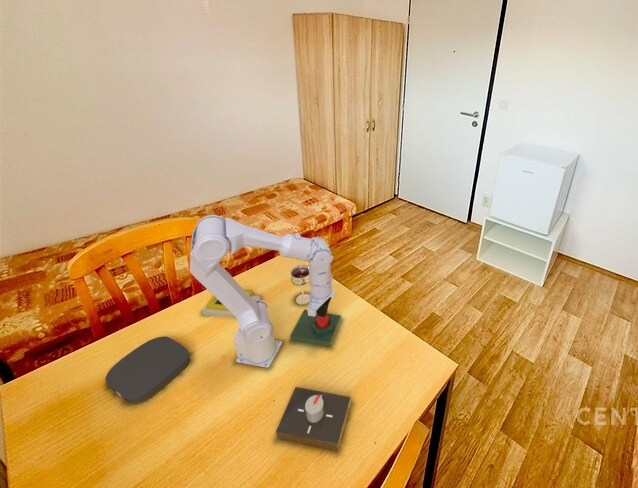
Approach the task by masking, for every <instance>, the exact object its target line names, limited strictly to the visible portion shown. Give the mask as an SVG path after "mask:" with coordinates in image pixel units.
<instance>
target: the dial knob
mask: <svg viewBox="0 0 638 488" xmlns="http://www.w3.org/2000/svg"><path fill="white" fill-rule="evenodd" d="M305 410H306V418H307V420H308V421H309V422H312V423H315V422H318V421H319V420H320V419H321V418H322V417H323V414H324V404H323V399H322V398H321V397H320V395H314V396H311V397H310V398H309V399H308V400H307V401H306V404H305Z"/></svg>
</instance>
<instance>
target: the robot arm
mask: <svg viewBox="0 0 638 488" xmlns="http://www.w3.org/2000/svg"><path fill="white" fill-rule="evenodd" d="M244 247H251V248H257V249H264V250H271V251H277V252H278V253H279V255H280V256H281V257H282V258H287V259H292V260H298V261H303V262H308V266H309V278H310V282H309V295H310V300H309V302H308V309H307V310H308V316H314V317H315V316H316V312H317V314H318V316H321V317H325V316H326V313H328V309H329V305H330V302H331V300H332V298H334V297H335V295H336V290H334V289H333V281H334V275H333V274H332V272H331V270H332V269H331V267H332V266H331V263H332V262H333V259H334V256H333V254H332V251H331V249H330V247H329V245H328V243H327V241H326V240H325V238H323V237H321V236H314V237H311V238H309V237H303V236H301V234H300V233H296V232H295V233H294V234H293V233H292V234H291V233H286V234H285V235H283V236H281V235H277V234H274V233H271V232H269V231H265V230H261V229H258V228H256V227H252V226H249V225H245V224H243V223H241V222H239V221H237V220H235V219H233V218H230V217H225V218H224V217H223V216H220V215H216V214H211V215H210V214H209V215H205V216H203V217H202V218H200V219H199V220H198V221H197V222H196V225H195V227H194V229H193V231H192V234H191V245H190V254H189V273H190V274H191V275H192V276H193V277H194V278H195V280H197V281H198V282H199V283H200V284H201V285H202V286H203V287H204V288H205V289H206V290H207V291H208V292H209V293H211V295H213V296H215V297H216V298H217V299H218V300H219V301H220V302H221V303H222V304H223V305H224V306H225V307H226V308H227V309H228V310H229V311H230V312H231V313H232V314H233V315H234V316H236V318H235V319H236V321H237V323H238V326H239V327H238V328H237V331H236V333H235V336H234V340H233V341H234V348H235V352H236V356H237V357H236V360H235V362H236V363H239V364H245V365H250V366H256V367H260V368H261V367H262V368H270V367H271V365H272V363H273V361H274V359H275V357H276V355H277V354H278V351H279V350H280V348H281V346H282V344H283V341H281V340H278V339H277V340H276V338H275V332H274V325H273V322H272V321H271V320H270V316H269V310H268V303H267V302H266V301H265V300H261V299H260V300H259V299H257V298H256V297H255V296H252V297H250V296H249V295H248V294H247V292H246V291H245V290H244V289H245V288H243V287H242V286H241V284H240V283H239V282H237V280H236V279H235V278H234V277H233V276H232V275H231V274H230V273H229V272H228V271H227V270H226V268H224V267H223V265H222V264H221V263H220V262H221V261H222V260H223V259H224V258H225V257H226V256H227V254H229V251H230V255H234V254H235V253H237V252H238V251H240V250H241V249H243V248H244Z"/></svg>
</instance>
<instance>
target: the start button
mask: <svg viewBox="0 0 638 488" xmlns="http://www.w3.org/2000/svg"><path fill="white" fill-rule="evenodd" d="M316 322H317V326H318V327H320V328H324V327H326V326H327V325H328V324H329V317H328V315H326V316H325V317H321V316H318V317H317V319H316Z"/></svg>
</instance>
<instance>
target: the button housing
mask: <svg viewBox="0 0 638 488" xmlns="http://www.w3.org/2000/svg"><path fill="white" fill-rule="evenodd" d="M326 315H328V317H329V324H328V325H327V326H326V327H324V328H320V327H318V326H317V322H316V319H317V317H318V314H317V312H316V316H315V317H314V316H308V309H303V311H302V313H301V314H300V317H299V319H298V321H297V322H296V324H295V326H294V328H293V330H292V332H291V334H290V342H295V343H300V344H308V345H313V346H319V347H324V348H331V347H332V345H333V343H334V340H335V337H336V335H337V331H338V330H339V326H340V324H341V321H342V316H341V315H340V314H334V313H328V312H327V313H326Z"/></svg>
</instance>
